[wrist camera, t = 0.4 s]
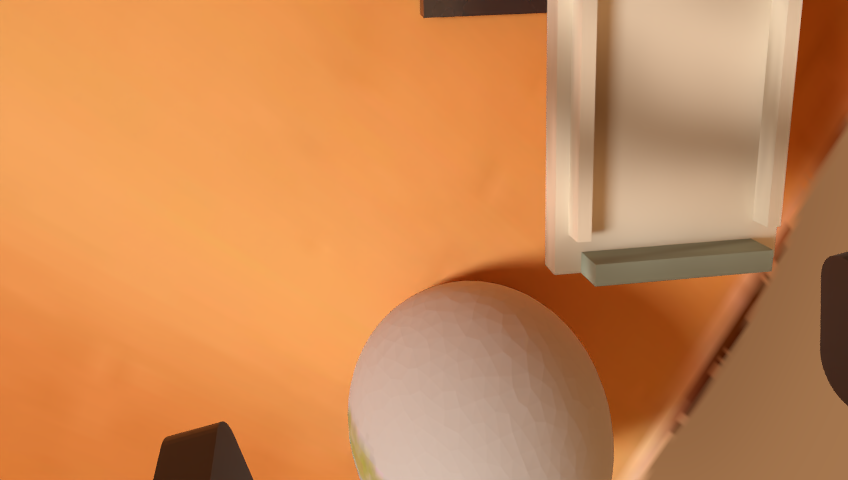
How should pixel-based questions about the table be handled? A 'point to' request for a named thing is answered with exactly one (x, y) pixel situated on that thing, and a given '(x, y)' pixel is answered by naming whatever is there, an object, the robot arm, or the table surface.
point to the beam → (667, 136)
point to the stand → (480, 7)
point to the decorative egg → (477, 392)
